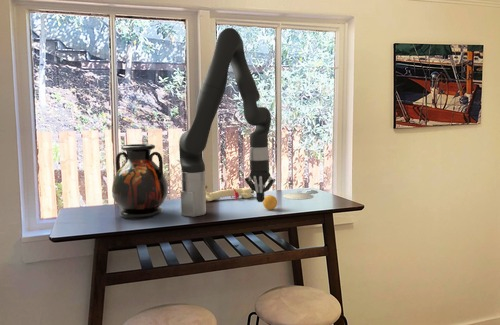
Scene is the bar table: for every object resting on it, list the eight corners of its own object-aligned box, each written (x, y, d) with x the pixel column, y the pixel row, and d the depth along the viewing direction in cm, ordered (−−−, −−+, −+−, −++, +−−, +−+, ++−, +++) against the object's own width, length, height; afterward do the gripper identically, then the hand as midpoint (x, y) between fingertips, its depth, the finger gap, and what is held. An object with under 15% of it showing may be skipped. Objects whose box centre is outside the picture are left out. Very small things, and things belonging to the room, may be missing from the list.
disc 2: (313, 194, 208) (313, 194, 208) (294, 192, 213) (294, 192, 213) (320, 191, 216) (320, 190, 216) (301, 189, 221) (301, 189, 221)
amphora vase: (103, 221, 162) (99, 147, 159) (127, 208, 183) (123, 143, 180) (158, 222, 159) (155, 147, 156) (175, 209, 181) (173, 142, 177)
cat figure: (205, 207, 191) (258, 198, 199) (203, 187, 189) (256, 179, 197) (200, 202, 200) (250, 194, 208) (198, 184, 199) (249, 176, 207)
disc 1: (306, 200, 195) (306, 200, 195) (278, 197, 201) (278, 197, 201) (317, 194, 207) (317, 194, 207) (290, 192, 214) (290, 192, 214)
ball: (273, 211, 174) (273, 197, 173) (260, 210, 177) (260, 196, 176) (279, 208, 179) (279, 194, 178) (266, 207, 182) (266, 193, 181)
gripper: (240, 159, 168) (241, 202, 170) (270, 160, 162) (272, 205, 164) (248, 156, 174) (250, 198, 177) (278, 157, 168) (279, 200, 171)
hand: (260, 201), depth 170 cm, fingers closed
